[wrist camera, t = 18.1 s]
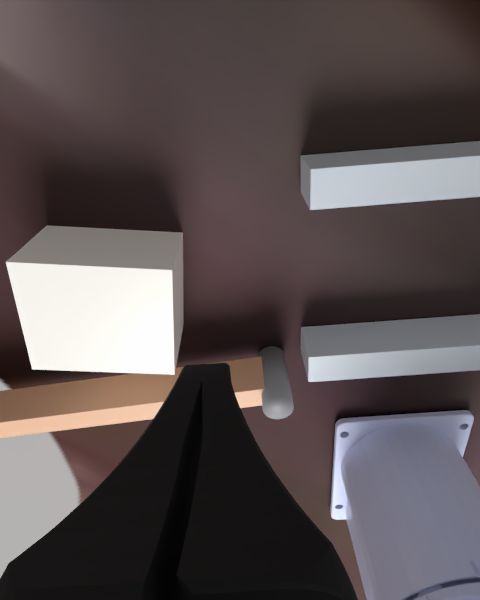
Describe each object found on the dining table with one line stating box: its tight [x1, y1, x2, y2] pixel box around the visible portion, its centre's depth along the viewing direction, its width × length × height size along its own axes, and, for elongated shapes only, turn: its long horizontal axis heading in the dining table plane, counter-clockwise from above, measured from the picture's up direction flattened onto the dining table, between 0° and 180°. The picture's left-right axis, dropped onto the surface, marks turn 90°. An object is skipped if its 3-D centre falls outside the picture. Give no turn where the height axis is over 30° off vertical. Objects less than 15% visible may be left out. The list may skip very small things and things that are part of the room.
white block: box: [6, 225, 184, 375], centre depth 18 cm, size 5×6×4 cm
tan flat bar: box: [0, 346, 294, 438], centre depth 21 cm, size 17×1×4 cm, turn 99°
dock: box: [301, 141, 480, 382], centre depth 18 cm, size 10×11×2 cm
